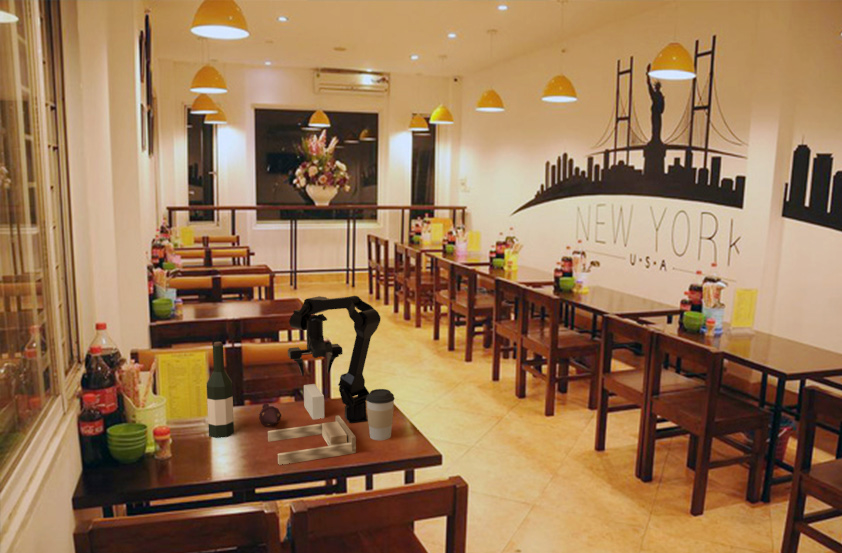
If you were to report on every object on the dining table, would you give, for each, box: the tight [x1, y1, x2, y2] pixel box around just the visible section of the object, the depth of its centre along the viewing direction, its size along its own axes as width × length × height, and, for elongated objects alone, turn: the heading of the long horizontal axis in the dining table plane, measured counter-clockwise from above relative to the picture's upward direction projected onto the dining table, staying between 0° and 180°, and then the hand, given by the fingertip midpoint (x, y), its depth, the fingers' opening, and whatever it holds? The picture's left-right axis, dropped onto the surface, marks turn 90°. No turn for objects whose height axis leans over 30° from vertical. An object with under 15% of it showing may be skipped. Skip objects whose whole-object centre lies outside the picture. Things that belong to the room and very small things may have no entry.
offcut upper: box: [321, 420, 347, 445], centre depth 200 cm, size 5×12×2 cm, turn 21°
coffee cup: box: [366, 388, 395, 441], centre depth 204 cm, size 9×9×15 cm
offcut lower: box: [321, 431, 348, 446], centre depth 200 cm, size 5×14×2 cm, turn 22°
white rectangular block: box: [303, 383, 325, 420], centre depth 226 cm, size 4×14×8 cm, turn 22°
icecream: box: [258, 402, 282, 428], centre depth 213 cm, size 7×7×15 cm
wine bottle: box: [206, 341, 235, 439], centre depth 205 cm, size 8×8×30 cm
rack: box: [267, 415, 357, 466], centre depth 196 cm, size 23×19×5 cm
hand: (315, 374), depth 230 cm, fingers open, 9 cm apart
